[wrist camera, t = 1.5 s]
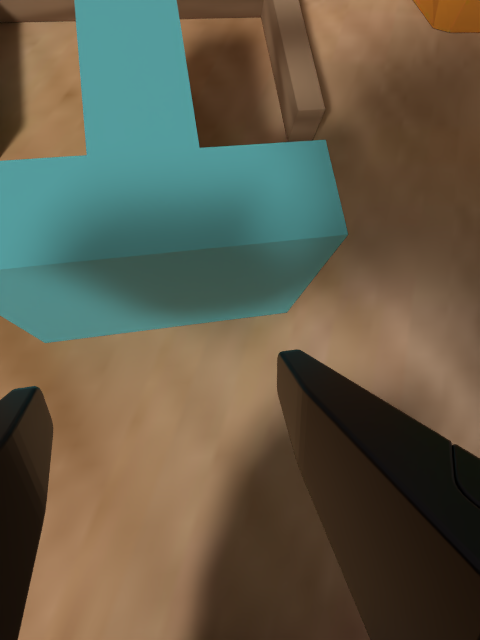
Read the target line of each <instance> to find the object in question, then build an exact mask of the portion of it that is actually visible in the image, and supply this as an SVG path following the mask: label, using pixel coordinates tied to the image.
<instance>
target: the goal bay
mask: <svg viewBox="0 0 480 640" xmlns="http://www.w3.org/2000/svg"><path fill="white" fill-rule="evenodd" d="M177 6H178V12H179V19H187V18H236V17H261V19H262V24H263V28H264V33H265V38H266V42H267V47H268V52H269V56H270V61H271V66H272V70H273V75H274V80H275V84H276V89H277V94H278V98H279V103H280V108H281V112H282V117H283V122H284V126H285V131H286V136H287V140H288V142H296V141H311V140H313V138H314V135H315V133H316V130H317V128H318V126H319V123H320V121H321V118H322V116H323V113H324V111H325V106H324V102H323V98H322V94H321V90H320V86H319V82H318V77H317V73H316V69H315V65H314V61H313V57H312V53H311V49H310V45H309V41H308V37H307V32H306V28H305V24H304V20H303V16H302V12H301V8H300V4H299V0H177ZM39 21H76V15H75V3H74V0H0V22H39Z"/></svg>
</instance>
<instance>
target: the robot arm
mask: <svg viewBox="0 0 480 640" xmlns="http://www.w3.org/2000/svg"><path fill="white" fill-rule="evenodd" d="M277 391H278V397H279V400H280V404H281V407H282V411H283V415H284V418H285V422H286V425H287V429H288V432H289V436H290V439H291V443H292V446H293V450H294V453H295V457H296V460H297V463H298V466H299V469H300V471H301V474H302V477H303V479H304V482H305V484H306V486H307V489H308V491H309V493H310V496H311V498H312V501H313V503H314V505H315V508H316V510H317V513H318V515H319V517H320V520H321V522H322V525H323V527H324V529H325V532H326V534H327V537H328V539H329V541H330V544H331V546H332V549H333V551H334V553H335V556H336V558H337V561H338V563H339V565H340V568H341V570H342V572H343V575H344V577H345V580H346V582H347V584H348V587H349V589H350V592H351V594H352V596H353V599H354V601H355V604H356V606H357V608H358V611H359V613H360V616H361V618H362V620H363V623H364V625H365V628H366V630H367V632H368V635H369V637H370V639H371V640H480V458H478V457H476V456H475V455H473V454H471V453H470V452H468V451H466V450H465V449H463V448H461V447H460V446H458V445H456V444H454V445H452V443H451V441H450V440H448V439H446V438H445V437H443V436H441V435H440V434H438V433H436V432H435V431H433V430H431V429H430V428H428V427H427V426H425V425H423V424H422V423H420V422H418V421H417V420H415V419H413V418H412V417H410V416H408V415H407V414H405V413H403V412H402V411H400V410H398V409H397V408H395V407H394V406H392V405H390V404H389V403H387V402H385V401H384V400H382V399H380V398H379V397H377V396H375V395H374V394H372V393H370V392H369V391H367V390H366V389H364V388H362V387H361V386H359V385H357V384H356V383H354V382H352V381H351V380H349V379H347V378H346V377H344V376H342V375H341V374H339V373H337V372H336V371H334V370H333V369H331V368H329V367H328V366H326V365H324V364H323V363H321V362H319V361H318V360H316V359H314V358H313V357H311V356H309V355H308V354H306V353H304V352H303V351H301V350H289V351H282V352H280V353H279V354H278V358H277ZM52 440H53V423H52V419H51V416H50V413H49V410H48V407H47V405H46V402H45V399H44V396H43V393H42V391H41V390H40V388H38V387H36V386H32V387H25V388H18V389H14V390H12V391H11V392H9V393H8V394H7V395H6V396H5V397H3V398H2V399H1V400H0V640H18V636H19V631H20V627H21V622H22V618H23V613H24V609H25V604H26V599H27V595H28V590H29V586H30V581H31V577H32V572H33V567H34V563H35V558H36V554H37V549H38V545H39V540H40V535H41V531H42V526H43V521H44V516H45V510H46V502H47V492H48V481H49V471H50V461H51V450H52Z"/></svg>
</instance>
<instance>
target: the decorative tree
mask: <svg viewBox="0 0 480 640" xmlns="http://www.w3.org/2000/svg"><path fill="white" fill-rule="evenodd" d="M413 1H414V2H415V4H416V5H417V6H418V8H419V9H420V11H421V12H422V13H423V15H424V16H425V17H426V19H427V20H428V22H429V23H430V24H431V26H432V27H433V28H435V29H439V30H442V31H446V32H480V0H413Z"/></svg>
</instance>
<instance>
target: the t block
mask: <svg viewBox="0 0 480 640" xmlns="http://www.w3.org/2000/svg"><path fill="white" fill-rule="evenodd" d="M74 3H75V15H76V27H77V40H78V52H79V64H80V77H81V89H82V101H83V114H84V126H85V138H86V151H87V155H84V156H69V157H53V158H38V159H23V160H7V161H0V316H2V317H4V318H5V319H7V320H9V321H10V322H12V323H13V324H15V325H17V326H18V327H20V328H22V329H23V330H25V331H27V332H28V333H30V334H31V335H33V336H35V337H36V338H38V339H40V340H41V341H43V342H45V343H49V342H57V341H65V340H73V339H81V338H88V337H96V336H104V335H112V334H120V333H128V332H136V331H144V330H152V329H160V328H168V327H176V326H184V325H192V324H199V323H207V322H215V321H223V320H231V319H239V318H247V317H255V316H263V315H271V314H279V313H287V311H288V310H289V309H290V308H291V306H292V305H293V304H294V303H295V301H296V300H297V299H298V298H299V296H300V295H301V294H302V292H303V291H304V290H305V289H306V287H307V286H308V285H309V284H310V282H311V281H312V280H313V279H314V277H315V276H316V275H317V273H318V272H319V271H320V270H321V268H322V267H323V266H324V265H325V263H326V262H327V261H328V260H329V258H330V257H331V256H332V254H333V253H334V252H335V251H336V249H337V248H338V247H339V246H340V244H341V243H342V242H343V241H344V239H345V238H346V237H347V235H348V232H347V227H346V223H345V219H344V215H343V211H342V206H341V202H340V198H339V194H338V190H337V186H336V181H335V177H334V173H333V169H332V165H331V161H330V156H329V152H328V148H327V144H326V140H314V141H298V142H283V143H268V144H252V145H237V146H222V147H206V148H199V141H198V135H197V128H196V122H195V115H194V109H193V103H192V96H191V90H190V83H189V77H188V70H187V64H186V57H185V51H184V45H183V38H182V32H181V25H180V19H179V12H178V6H177V0H74Z"/></svg>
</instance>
